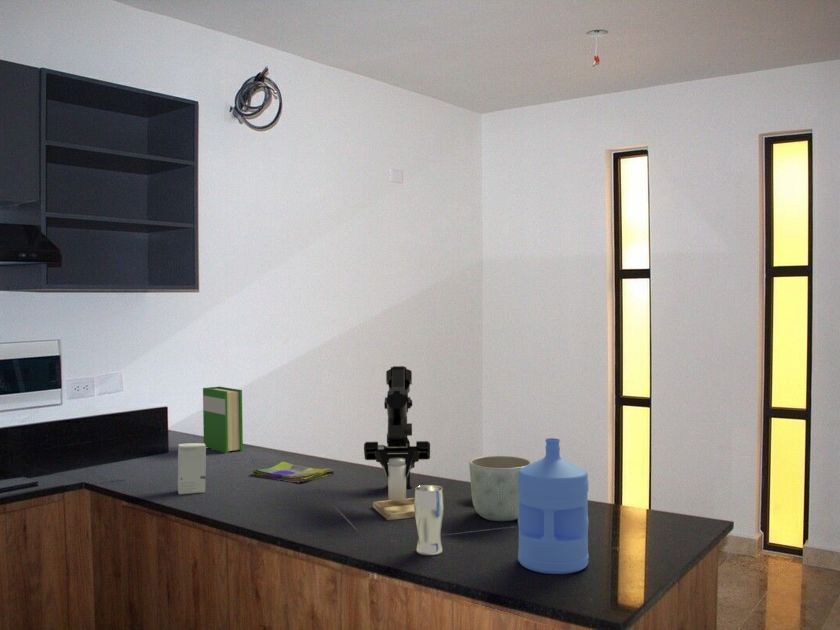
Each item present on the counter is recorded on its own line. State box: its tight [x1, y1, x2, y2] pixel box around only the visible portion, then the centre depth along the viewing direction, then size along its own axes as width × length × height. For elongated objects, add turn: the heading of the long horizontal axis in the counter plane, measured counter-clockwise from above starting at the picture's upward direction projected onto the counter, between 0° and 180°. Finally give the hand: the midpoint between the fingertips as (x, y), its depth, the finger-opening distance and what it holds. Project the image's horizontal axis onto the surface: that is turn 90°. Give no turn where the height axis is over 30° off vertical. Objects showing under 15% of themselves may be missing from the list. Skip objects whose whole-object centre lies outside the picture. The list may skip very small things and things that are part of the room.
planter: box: [468, 455, 533, 522], centre depth 218 cm, size 17×17×15 cm
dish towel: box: [250, 461, 335, 484], centre depth 272 cm, size 18×24×3 cm
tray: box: [372, 497, 415, 521], centre depth 223 cm, size 14×14×2 cm
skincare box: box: [177, 442, 207, 495], centre depth 250 cm, size 8×6×15 cm
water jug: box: [517, 437, 590, 575], centre depth 180 cm, size 16×16×28 cm
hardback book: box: [202, 386, 244, 454], centre depth 318 cm, size 18×7×24 cm, turn 43°
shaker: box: [387, 458, 407, 501], centre depth 224 cm, size 5×5×11 cm
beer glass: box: [414, 484, 445, 556], centre depth 190 cm, size 7×7×15 cm
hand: (397, 476), depth 223 cm, fingers closed on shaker, 5 cm apart
